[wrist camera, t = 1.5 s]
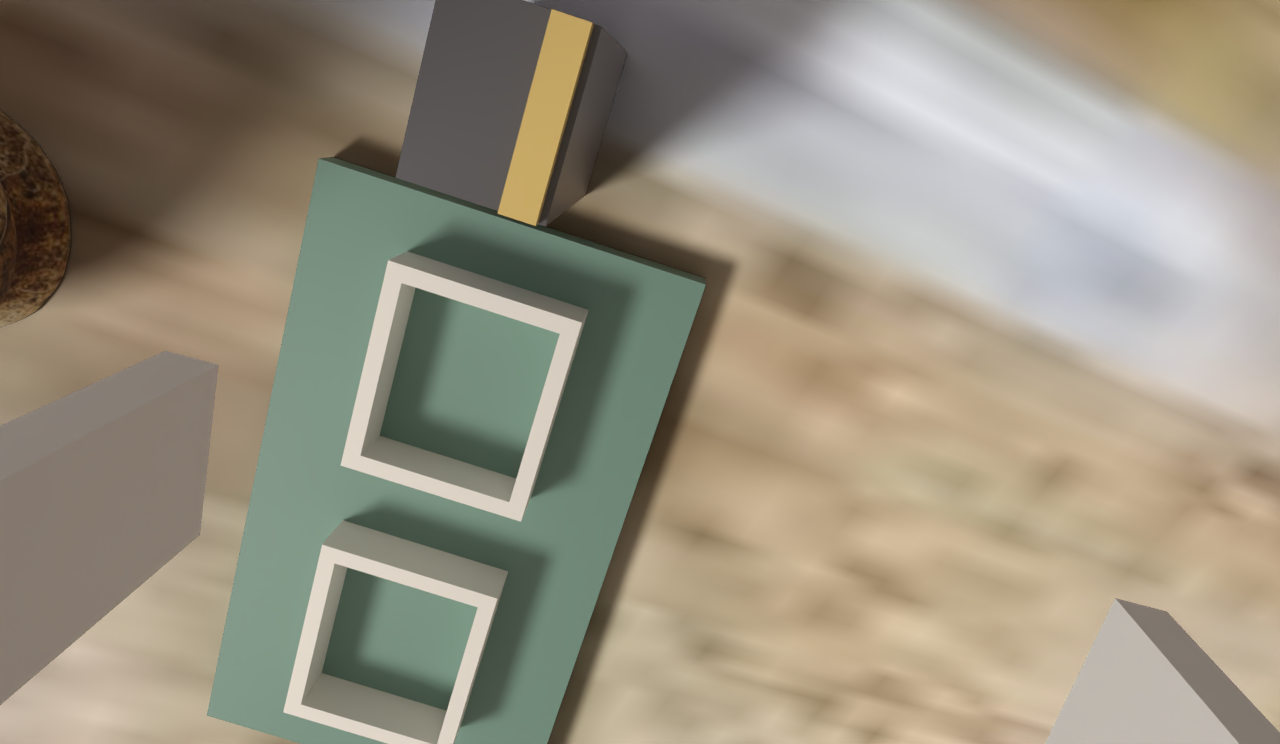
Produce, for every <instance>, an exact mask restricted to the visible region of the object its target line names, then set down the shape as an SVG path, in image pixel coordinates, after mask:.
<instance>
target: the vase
mask: <svg viewBox="0 0 1280 744" xmlns="http://www.w3.org/2000/svg"><path fill="white" fill-rule="evenodd" d="M70 244H71V234H70V216H69V207H68V201H67V198H66V195H65V192H64V189H63V186H62V183H61V181H60V179H59V177H58V175H57V173H56V170H55V169H54V167H53V165H52V164H51V163H50V161H49V160H48V158H47V157H46V155H45V154H44V152H43V151H42V149H41V148H40V147H39V146H38V144H37V143H36V142H35V141H34V140H33V139H32V138H31V137H30V136H29V135H28V134H27V133H26V132H25V131H23V130H22V129H21V128H20V127H19V126H18V125H17V124H16V123H15V122H14V121H13V120H11V119H10V118H9V117H7V116H6V115H5V114H3V113H2V112H1V111H0V327H2V326H6V325H9V324H12V323H14V322H17V321H19V320H21V319H23V318H25V317H27V316H28V315H30V314H32V313H34V312H35V311H36V310H37V309H39V308H40V307H41V306H42V305H43V304H44V302H45V301H46V300H47V299H48V298H49V297H50V295H51V294H52V293H53V292H54V291H55V289H56V288H57V286H58V285H59V283H60V282H61V280H62V278H63V275H64V272H65V268H66V264H67V261H68V257H69V250H70Z"/></svg>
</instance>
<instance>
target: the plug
mask: <svg viewBox="0 0 1280 744" xmlns="http://www.w3.org/2000/svg"><path fill="white" fill-rule="evenodd" d="M626 56H627V52H626V51H625V50H624V49H623V48H622V47H621V46H620V45H619V44H618V43H617V41H616V40H615V39H614V38H613V37H612V36H611V35H610V34H609V33H608V32H607V31H606V30H605V29H604V28H603V27H601V26H598V25H595V24H593V23H592V22H589V21H586V20H583V19H580V18H577V17H574V16H571V15H568V14H565V13H562V12H559V11H556V10H553V9H552V10H550V9H547V8H544V7H541V6H538V5H535V4H532V3H529V2H526V1H523V0H436V2H435V6H434V10H433V15H432V19H431V24H430V28H429V32H428V37H427V41H426V45H425V50H424V54H423V59H422V63H421V67H420V72H419V76H418V81H417V85H416V89H415V94H414V98H413V103H412V107H411V111H410V116H409V120H408V125H407V129H406V133H405V138H404V142H403V146H402V151H401V155H400V160H399V164H398V168H397V173H396V177H395V178H398V179H401V180H404V181H408V182H411V183H414V184H417V185H420V186H423V187H426V188H429V189H432V190H435V191H438V192H441V193H444V194H447V195H451V196H454V197H457V198H460V199H463V200H466V201H469V202H472V203H475V204H478V205H481V206H484V207H487V208H490V209H493V210H497V211H498V213H497V214H500V215H503V216H506V217H509V218H513V219H516V220H519V221H522V222H525V223H528V224H531V225H534V226H536V225H537V224H540V225H543V226H547V225H548V224H549V223H551V222H552V221H553V220H554V219H556V218H557V217H558V216H560V215H561V214H562V213H563V212H565V211H566V210H567V209H569V208H570V207H571V206H572V205H574V204H575V203H576V202H577V201H579V200H580V199H581V198H583V197H584V196H585V195H586V192H587V189H588V185H589V182H590V178H591V175H592V172H593V168H594V165H595V161H596V158H597V155H598V151H599V148H600V144H601V141H602V138H603V134H604V131H605V127H606V124H607V121H608V117H609V114H610V110H611V107H612V104H613V100H614V97H615V93H616V90H617V87H618V83H619V80H620V76H621V73H622V70H623V66H624V63H625V59H626Z"/></svg>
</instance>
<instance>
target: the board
mask: <svg viewBox="0 0 1280 744" xmlns="http://www.w3.org/2000/svg"><path fill="white" fill-rule="evenodd" d="M497 213H498V211H496V210H493V209H490V208H487V207H484V206H481V205H478V204H475V203H472V202H469V201H466V200H463V199H460V198H457V197H454V196H450V195H447V194H444V193H441V192H438V191H435V190H432V189H429V188H426V187H423V186H420V185H417V184H414V183H411V182H407V181H404V180H401V179H398V178H395V177H392V176H389V175H386V174H383V173H380V172H377V171H374V170H371V169H368V168H364V167H361V166H358V165H355V164H352V163H349V162H346V161H343V160H340V159H337V158H334V157H329V158H320V159H319V160H318V165H317V170H316V175H315V180H314V185H313V190H312V195H311V200H310V205H309V210H308V215H307V220H306V225H305V230H304V235H303V240H302V245H301V250H300V254H299V259H298V264H297V269H296V274H295V279H294V284H293V289H292V294H291V299H290V304H289V309H288V314H287V319H286V324H285V329H284V334H283V339H282V344H281V349H280V354H279V359H278V364H277V369H276V374H275V379H274V384H273V389H272V394H271V399H270V404H269V409H268V414H267V419H266V424H265V429H264V434H263V439H262V444H261V449H260V454H259V459H258V464H257V469H256V474H255V479H254V484H253V489H252V494H251V499H250V503H249V508H248V513H247V518H246V523H245V528H244V533H243V538H242V543H241V548H240V553H239V558H238V563H237V568H236V573H235V578H234V583H233V588H232V593H231V598H230V603H229V608H228V613H227V618H226V623H225V628H224V633H223V638H222V643H221V648H220V653H219V658H218V663H217V668H216V673H215V678H214V683H213V688H212V693H211V698H210V703H209V708H208V713H207V716H210V717H214V718H217V719H220V720H224V721H227V722H230V723H234V724H237V725H241V726H244V727H247V728H251V729H254V730H257V731H261V732H264V733H267V734H271V735H274V736H277V737H281V738H284V739H287V740H291V741H294V742H297V743H301V744H547V743H548V740H549V737H550V734H551V731H552V728H553V725H554V722H555V720H556V717H557V714H558V711H559V708H560V705H561V702H562V699H563V696H564V694H565V691H566V688H567V685H568V682H569V679H570V676H571V673H572V670H573V668H574V665H575V662H576V659H577V656H578V653H579V650H580V647H581V644H582V642H583V639H584V636H585V633H586V630H587V627H588V624H589V621H590V618H591V615H592V613H593V610H594V607H595V604H596V601H597V598H598V595H599V592H600V589H601V587H602V584H603V581H604V578H605V575H606V572H607V569H608V566H609V563H610V561H611V558H612V555H613V552H614V549H615V546H616V543H617V540H618V537H619V535H620V532H621V529H622V526H623V523H624V520H625V517H626V514H627V511H628V509H629V506H630V503H631V500H632V497H633V494H634V491H635V488H636V485H637V482H638V480H639V477H640V474H641V471H642V468H643V465H644V462H645V459H646V456H647V454H648V451H649V448H650V445H651V442H652V439H653V436H654V433H655V430H656V428H657V425H658V422H659V419H660V416H661V413H662V410H663V407H664V404H665V402H666V399H667V396H668V393H669V390H670V387H671V384H672V381H673V378H674V376H675V373H676V370H677V367H678V364H679V361H680V358H681V355H682V352H683V349H684V347H685V344H686V341H687V338H688V335H689V332H690V329H691V326H692V323H693V321H694V318H695V315H696V312H697V309H698V306H699V303H700V300H701V297H702V295H703V292H704V289H705V286H706V281H705V278H702V277H699V276H696V275H693V274H690V273H687V272H684V271H681V270H678V269H675V268H671V267H668V266H665V265H662V264H659V263H656V262H653V261H650V260H647V259H644V258H641V257H638V256H635V255H632V254H629V253H625V252H622V251H619V250H616V249H613V248H610V247H607V246H604V245H601V244H598V243H595V242H592V241H589V240H586V239H582V238H579V237H576V236H573V235H570V234H567V233H564V232H561V231H558V230H555V229H552V228H549V227H546V226H543V225H539V224H537V225H536V226H534V225H531V224H528V223H525V222H522V221H519V220H516V219H513V218H509V217H506V216H503V215H500V214H497Z"/></svg>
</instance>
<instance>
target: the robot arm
mask: <svg viewBox="0 0 1280 744" xmlns="http://www.w3.org/2000/svg"><path fill="white" fill-rule="evenodd" d="M217 373H218V365H217V364H214V363H210V362H206V361H202V360H198V359H194V358H191V357H187V356H183V355H179V354H175V353H171V352H168V351H164V352H162V353H160V354H158V355H155V356H153V357H151V358H149V359H146V360H144V361H142V362H140V363H138V364H135V365H133V366H131V367H129V368H127V369H124V370H122V371H120V372H118V373H116V374H113V375H111V376H109V377H107V378H105V379H102V380H100V381H98V382H96V383H94V384H91V385H89V386H87V387H85V388H83V389H80V390H78V391H76V392H74V393H71V394H69V395H67V396H65V397H63V398H60V399H58V400H56V401H54V402H52V403H49V404H47V405H45V406H43V407H41V408H38V409H36V410H34V411H32V412H30V413H27V414H25V415H23V416H21V417H19V418H16V419H14V420H12V421H10V422H8V423H5V424H3V425H1V426H0V705H1V704H2V703H3V702H4V701H6V700H7V699H8V698H9V697H10V696H11V695H13V694H14V693H15V692H16V691H17V690H19V689H20V688H21V687H22V686H23V685H24V684H26V683H27V682H28V681H29V680H30V679H31V678H33V677H34V676H35V675H36V674H37V673H38V672H40V671H41V670H42V669H43V668H44V667H45V666H47V665H48V664H49V663H50V662H51V661H53V660H54V659H55V658H56V657H57V656H58V655H60V654H61V653H62V652H63V651H64V650H65V649H67V648H68V647H69V646H70V645H71V644H72V643H74V642H75V641H76V640H77V639H78V638H79V637H81V636H82V635H83V634H84V633H85V632H86V631H88V630H89V629H90V628H91V627H92V626H94V625H95V624H96V623H97V622H98V621H99V620H101V619H102V618H103V617H104V616H105V615H106V614H108V613H109V612H110V611H111V610H112V609H113V608H115V607H116V606H117V605H118V604H119V603H120V602H122V601H123V600H124V599H125V598H126V597H127V596H129V595H130V594H131V593H132V592H133V591H135V590H136V589H137V588H138V587H139V586H140V585H142V584H143V583H144V582H145V581H146V580H147V579H149V578H150V577H151V576H152V575H153V574H154V573H156V572H157V571H158V570H159V569H160V568H161V567H163V566H164V565H165V564H166V563H167V562H169V561H170V560H171V559H172V558H173V557H174V556H176V555H177V554H178V553H179V552H180V551H181V550H183V549H184V548H185V547H186V546H187V545H188V544H190V543H191V542H192V541H193V540H194V539H195V538H197V537H198V536H199V535H200V529H201V519H202V510H203V501H204V492H205V483H206V474H207V464H208V455H209V446H210V437H211V428H212V419H213V409H214V400H215V391H216V382H217ZM1045 744H1280V732H1279V731H1278V730H1277V729H1276V728H1275V727H1274V726H1273V725H1272V724H1271V723H1270V722H1269V721H1268V720H1267V719H1266V717H1265V716H1264V715H1263V714H1262V713H1261V712H1260V711H1259V710H1258V709H1257V708H1256V707H1255V706H1254V705H1253V704H1252V702H1251V701H1250V700H1249V699H1248V698H1247V697H1246V696H1245V695H1244V694H1243V693H1242V692H1241V691H1240V690H1239V689H1238V687H1237V686H1236V685H1235V684H1234V683H1233V682H1232V681H1231V680H1230V679H1229V678H1228V677H1227V676H1226V675H1225V673H1224V672H1223V671H1222V670H1221V669H1220V668H1219V667H1218V666H1217V665H1216V664H1215V663H1214V662H1213V661H1212V660H1211V658H1210V657H1209V656H1208V655H1207V654H1206V653H1205V652H1204V651H1203V650H1202V649H1201V648H1200V647H1199V646H1198V645H1197V643H1196V642H1195V641H1194V640H1193V639H1192V638H1191V637H1190V636H1189V635H1188V634H1187V633H1186V632H1185V631H1184V629H1183V628H1182V627H1181V626H1180V625H1179V624H1178V623H1177V622H1176V621H1175V620H1174V619H1173V618H1172V617H1171V616H1170V614H1169V613H1168V612H1166V611H1162V610H1159V609H1155V608H1151V607H1147V606H1143V605H1139V604H1136V603H1132V602H1128V601H1124V600H1120V599H1116V598H1115V600H1114V602H1113V604H1112V606H1111V608H1110V610H1109V612H1108V614H1107V616H1106V618H1105V620H1104V623H1103V625H1102V627H1101V629H1100V631H1099V633H1098V635H1097V637H1096V639H1095V641H1094V643H1093V645H1092V647H1091V649H1090V652H1089V654H1088V656H1087V658H1086V660H1085V662H1084V664H1083V666H1082V668H1081V670H1080V672H1079V674H1078V676H1077V679H1076V681H1075V683H1074V685H1073V687H1072V689H1071V691H1070V693H1069V695H1068V697H1067V699H1066V701H1065V703H1064V706H1063V708H1062V710H1061V712H1060V714H1059V716H1058V718H1057V720H1056V722H1055V724H1054V726H1053V728H1052V730H1051V732H1050V735H1049V737H1048V739H1047V741H1046V743H1045Z"/></svg>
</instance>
